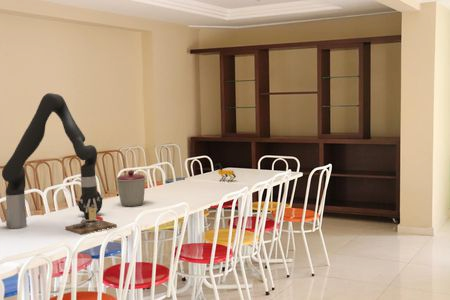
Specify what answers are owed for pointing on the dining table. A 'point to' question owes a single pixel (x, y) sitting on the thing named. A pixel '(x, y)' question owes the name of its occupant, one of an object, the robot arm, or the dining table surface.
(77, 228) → the shaft rig
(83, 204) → the decorative egg
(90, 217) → the coupler
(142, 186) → the canister
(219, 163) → the robot dog
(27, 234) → the dining table surface
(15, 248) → the dining table surface
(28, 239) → the dining table surface
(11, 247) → the dining table surface
